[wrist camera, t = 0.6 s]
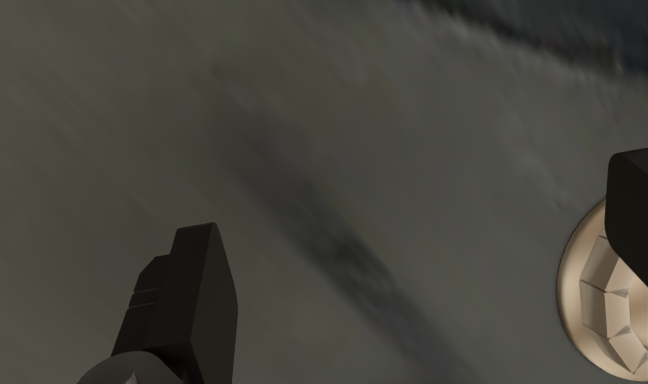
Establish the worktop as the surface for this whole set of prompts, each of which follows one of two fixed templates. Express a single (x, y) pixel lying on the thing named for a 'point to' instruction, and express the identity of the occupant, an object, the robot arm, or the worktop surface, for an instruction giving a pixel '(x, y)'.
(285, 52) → the worktop surface
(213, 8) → the worktop surface
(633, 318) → the cup holder
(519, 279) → the worktop surface
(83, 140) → the worktop surface
